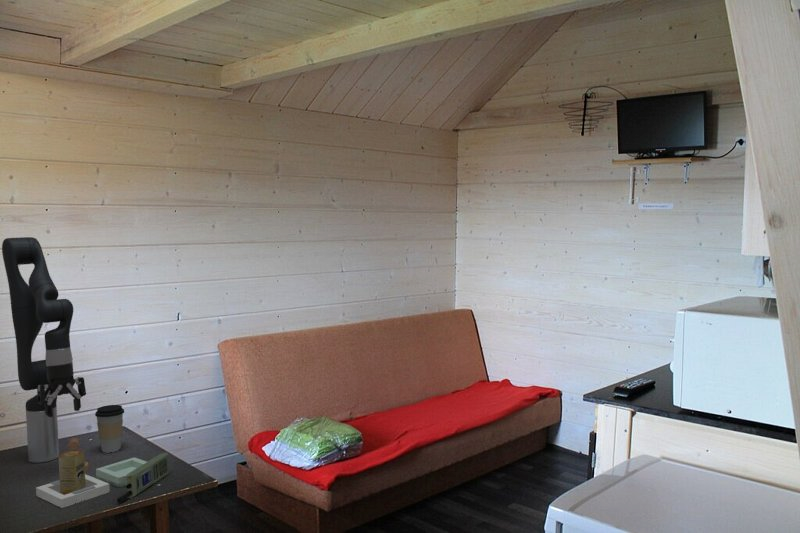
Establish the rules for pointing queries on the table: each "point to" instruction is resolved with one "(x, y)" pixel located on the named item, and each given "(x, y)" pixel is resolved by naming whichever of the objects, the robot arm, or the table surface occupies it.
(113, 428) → the coffee cup
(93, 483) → the holder
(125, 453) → the table surface
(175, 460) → the table surface
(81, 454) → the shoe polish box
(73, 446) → the door knob
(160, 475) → the handheld radio
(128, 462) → the tray
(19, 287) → the robot arm
